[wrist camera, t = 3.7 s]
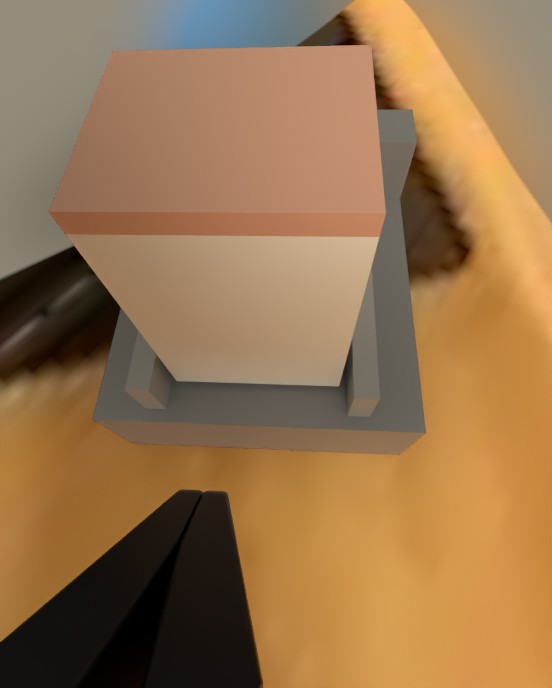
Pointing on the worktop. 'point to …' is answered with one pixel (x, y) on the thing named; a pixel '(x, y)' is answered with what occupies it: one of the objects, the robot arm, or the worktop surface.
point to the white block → (232, 205)
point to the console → (293, 400)
